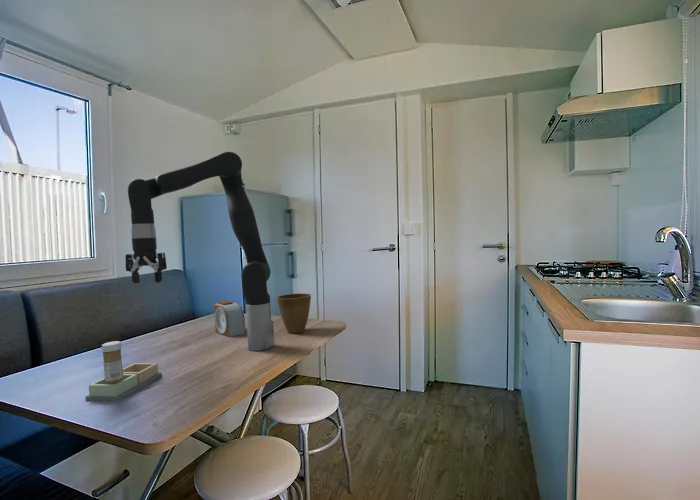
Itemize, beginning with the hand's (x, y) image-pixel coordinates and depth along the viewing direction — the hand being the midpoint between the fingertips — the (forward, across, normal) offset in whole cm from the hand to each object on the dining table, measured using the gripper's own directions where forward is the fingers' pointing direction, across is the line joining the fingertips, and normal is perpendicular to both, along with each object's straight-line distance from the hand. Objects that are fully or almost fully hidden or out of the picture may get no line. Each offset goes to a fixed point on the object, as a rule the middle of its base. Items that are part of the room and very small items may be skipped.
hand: (147, 282), depth 131 cm
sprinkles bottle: (+27, -8, +26) cm, 39 cm away
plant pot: (+28, -41, -39) cm, 63 cm away
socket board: (+28, -8, +22) cm, 37 cm away
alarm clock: (+28, -10, -38) cm, 48 cm away
